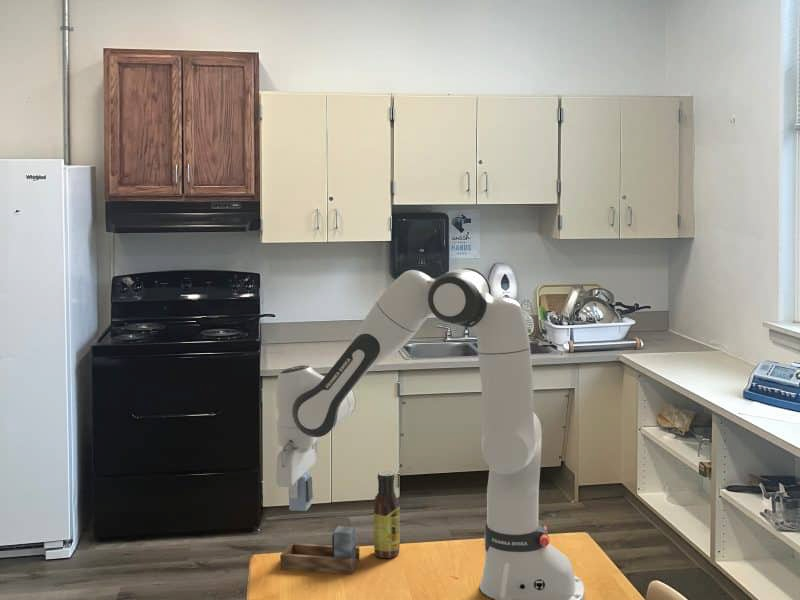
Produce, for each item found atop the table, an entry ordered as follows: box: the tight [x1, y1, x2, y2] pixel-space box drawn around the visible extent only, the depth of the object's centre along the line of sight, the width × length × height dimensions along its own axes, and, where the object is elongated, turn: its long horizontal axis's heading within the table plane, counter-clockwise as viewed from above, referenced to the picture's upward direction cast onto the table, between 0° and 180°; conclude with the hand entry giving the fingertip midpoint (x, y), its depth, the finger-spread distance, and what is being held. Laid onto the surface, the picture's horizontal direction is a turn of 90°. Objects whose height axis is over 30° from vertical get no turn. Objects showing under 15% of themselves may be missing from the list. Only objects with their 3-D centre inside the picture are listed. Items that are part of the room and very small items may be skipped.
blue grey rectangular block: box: [288, 471, 314, 512], centre depth 203 cm, size 5×4×8 cm
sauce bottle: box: [372, 470, 401, 559], centre depth 209 cm, size 6×6×20 cm
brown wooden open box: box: [279, 525, 361, 575], centre depth 204 cm, size 17×8×9 cm, turn 79°
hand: (298, 493), depth 204 cm, fingers closed on blue grey rectangular block, 4 cm apart
